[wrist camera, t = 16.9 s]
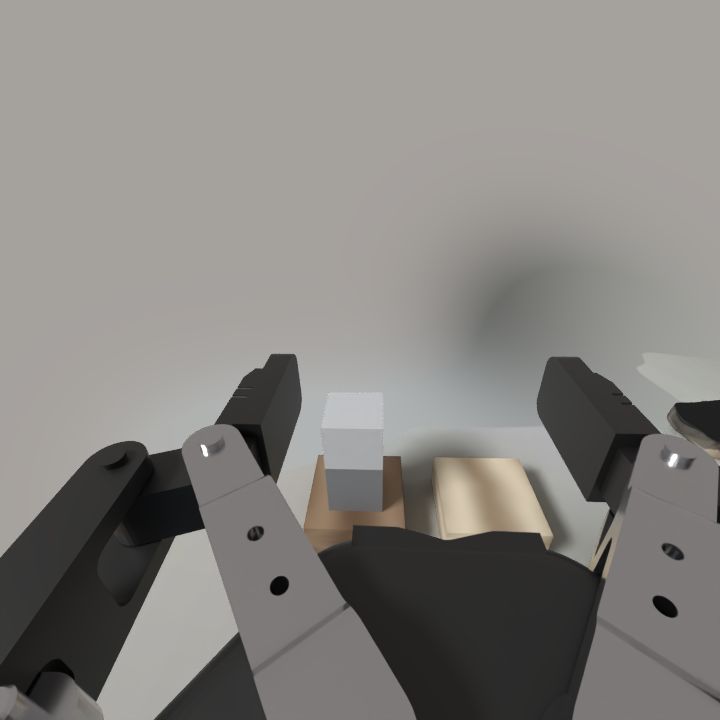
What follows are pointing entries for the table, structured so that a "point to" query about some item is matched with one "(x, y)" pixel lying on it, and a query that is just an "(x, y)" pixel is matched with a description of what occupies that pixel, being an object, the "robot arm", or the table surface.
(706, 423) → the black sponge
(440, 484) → the birch stand
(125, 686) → the table surface
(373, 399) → the block
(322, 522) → the walnut stand
